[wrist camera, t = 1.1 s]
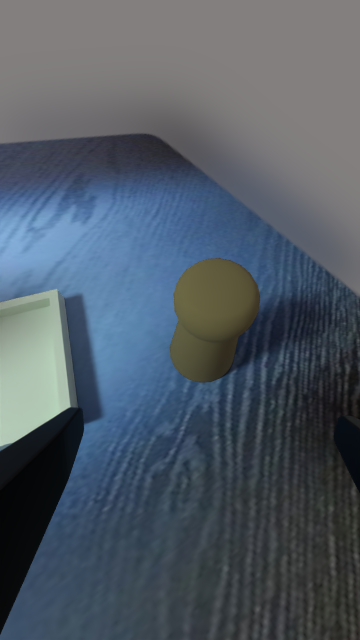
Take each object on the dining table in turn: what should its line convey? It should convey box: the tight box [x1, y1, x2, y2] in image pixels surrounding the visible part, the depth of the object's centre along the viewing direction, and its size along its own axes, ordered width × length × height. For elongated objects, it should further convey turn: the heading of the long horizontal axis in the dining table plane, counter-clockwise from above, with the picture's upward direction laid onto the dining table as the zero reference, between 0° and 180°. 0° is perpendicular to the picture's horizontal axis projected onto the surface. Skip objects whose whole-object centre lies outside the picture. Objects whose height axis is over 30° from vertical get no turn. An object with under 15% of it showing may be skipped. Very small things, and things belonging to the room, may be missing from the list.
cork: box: [170, 258, 260, 383], centre depth 19 cm, size 6×6×11 cm
